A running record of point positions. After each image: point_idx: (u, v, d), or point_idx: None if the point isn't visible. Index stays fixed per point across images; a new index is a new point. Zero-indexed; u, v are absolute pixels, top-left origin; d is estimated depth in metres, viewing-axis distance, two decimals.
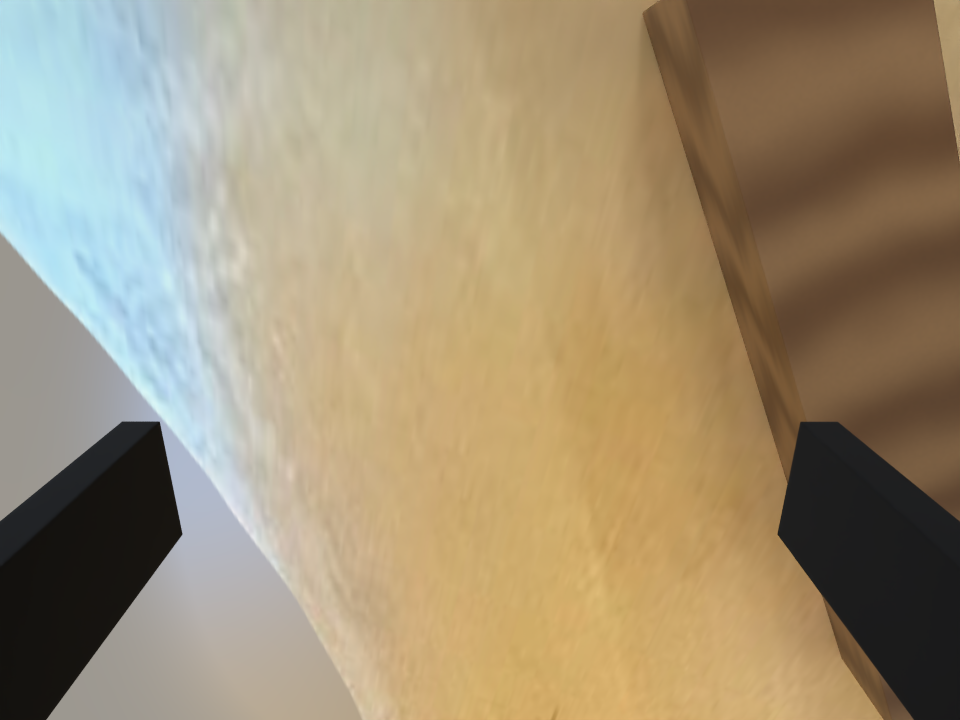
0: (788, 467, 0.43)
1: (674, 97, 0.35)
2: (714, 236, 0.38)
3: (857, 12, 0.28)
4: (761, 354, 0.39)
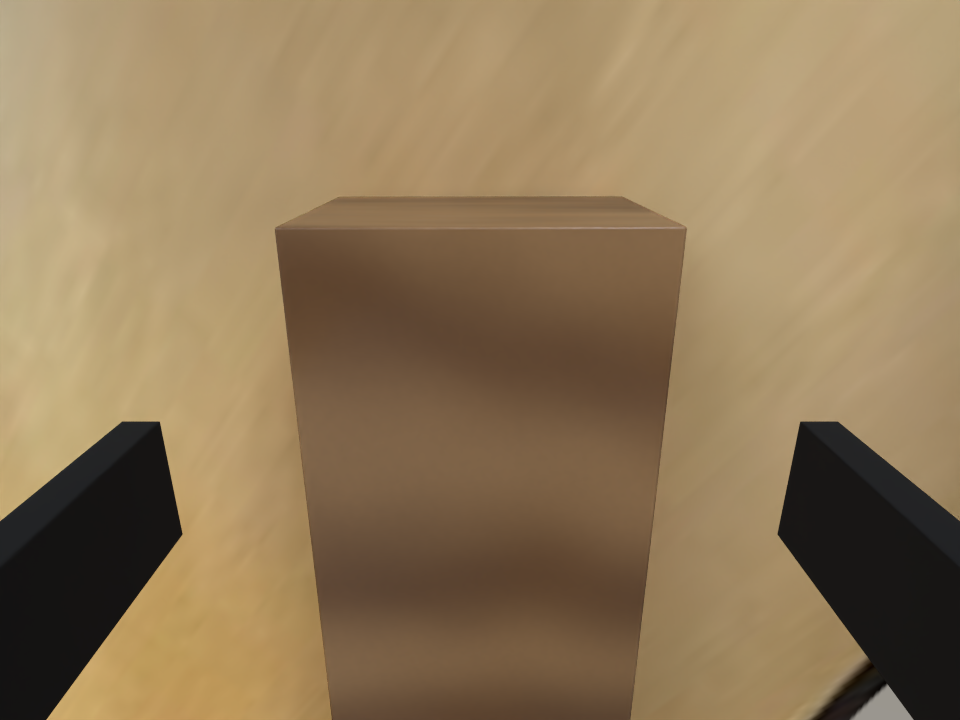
0: None
1: None
2: None
3: (549, 387, 0.17)
4: None
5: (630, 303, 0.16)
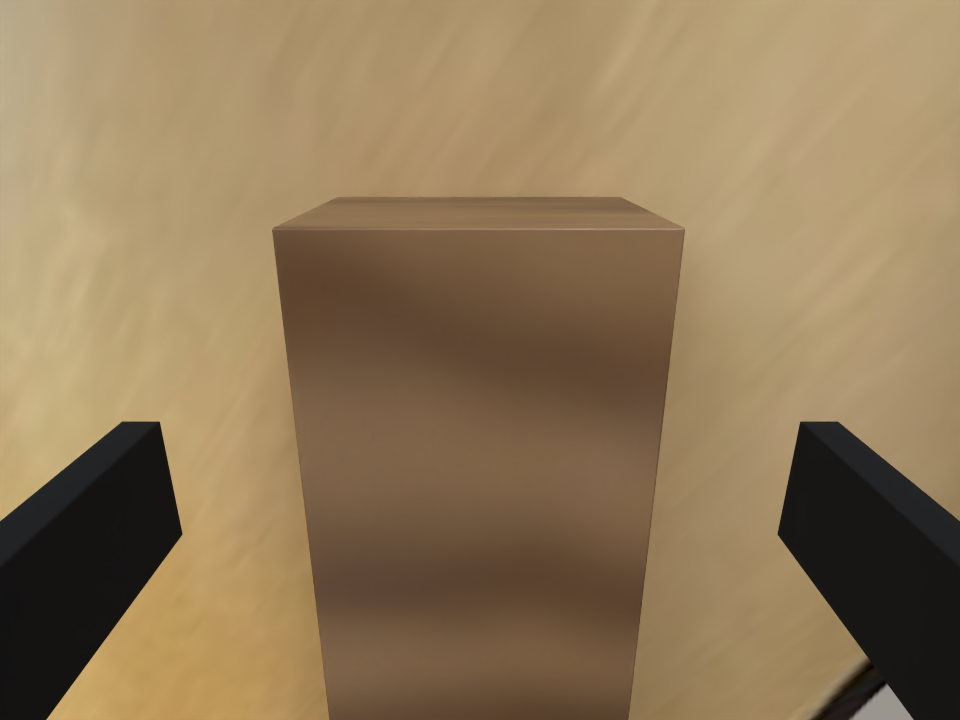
0: None
1: None
2: None
3: (547, 388, 0.17)
4: None
5: (628, 305, 0.16)
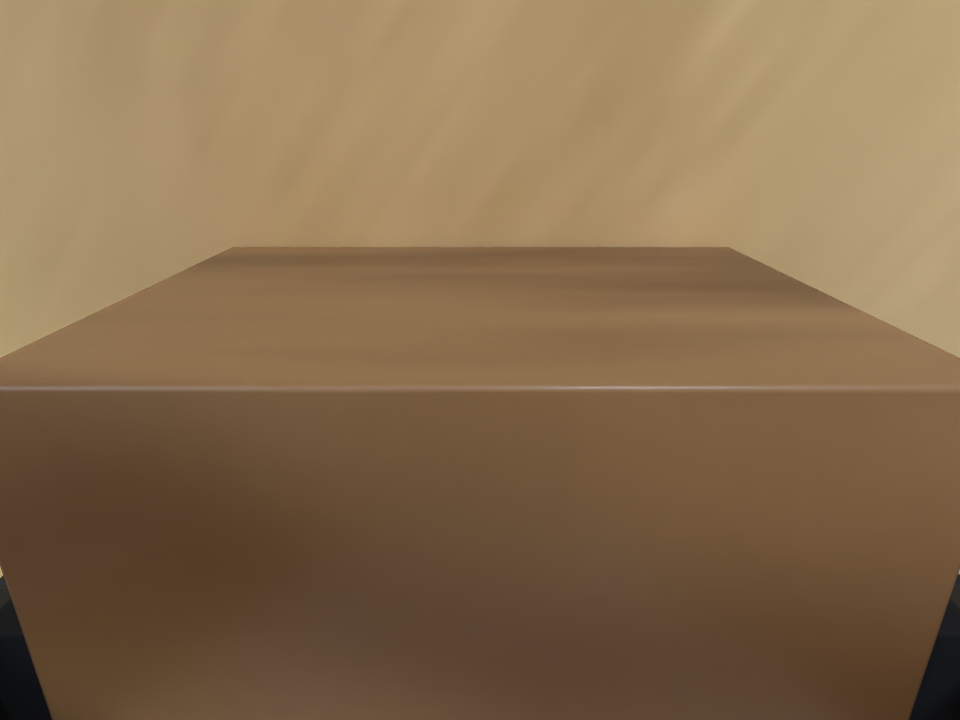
0: None
1: None
2: None
3: None
4: None
5: (848, 558, 0.06)
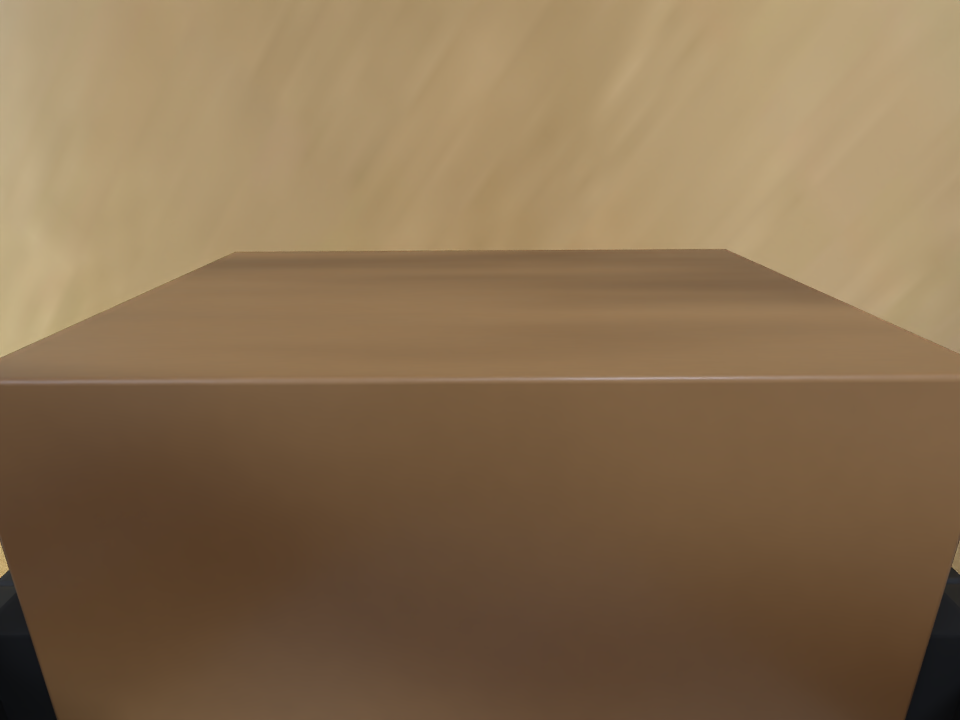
0: None
1: None
2: None
3: (635, 713, 0.07)
4: None
5: (843, 549, 0.07)
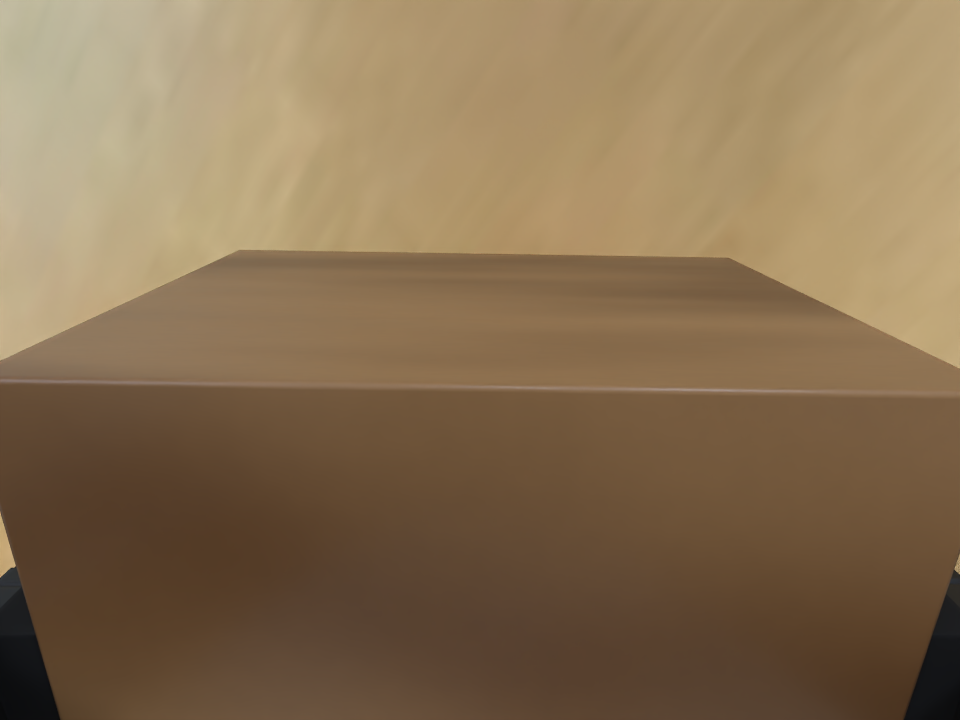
0: None
1: None
2: None
3: (637, 719, 0.07)
4: None
5: (845, 560, 0.07)
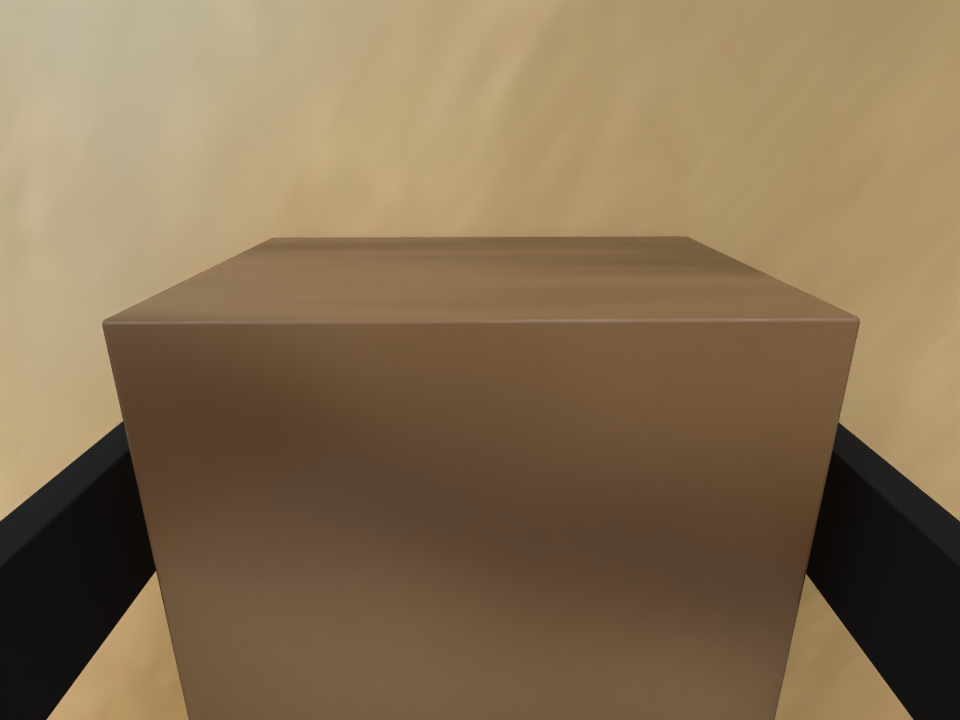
0: None
1: None
2: None
3: (600, 581, 0.10)
4: None
5: (748, 448, 0.09)
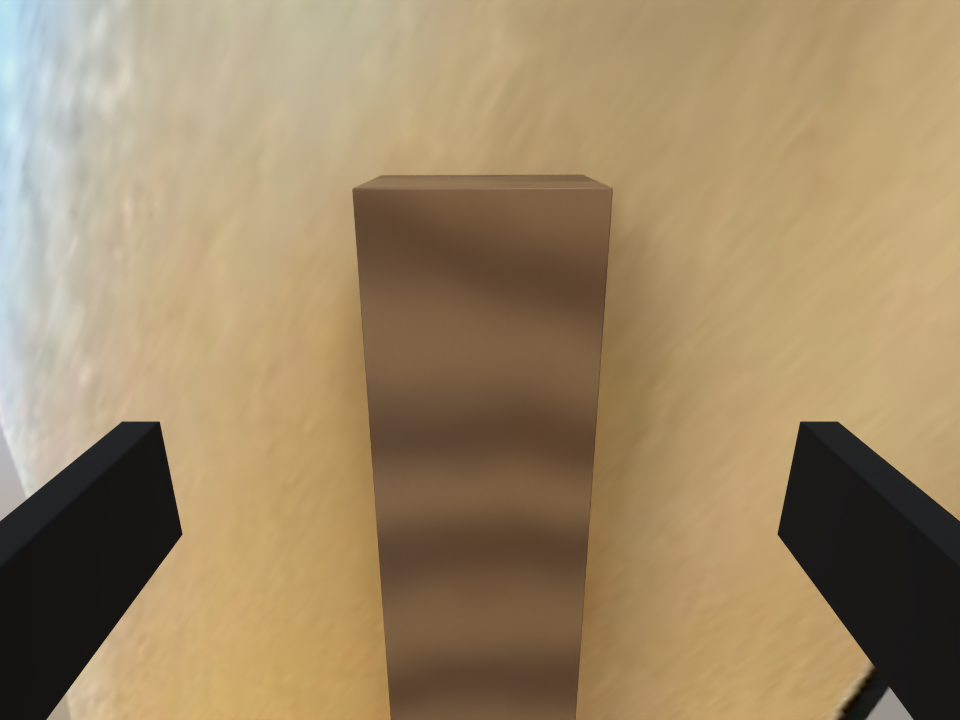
0: None
1: None
2: None
3: (527, 294, 0.26)
4: None
5: (578, 237, 0.25)
